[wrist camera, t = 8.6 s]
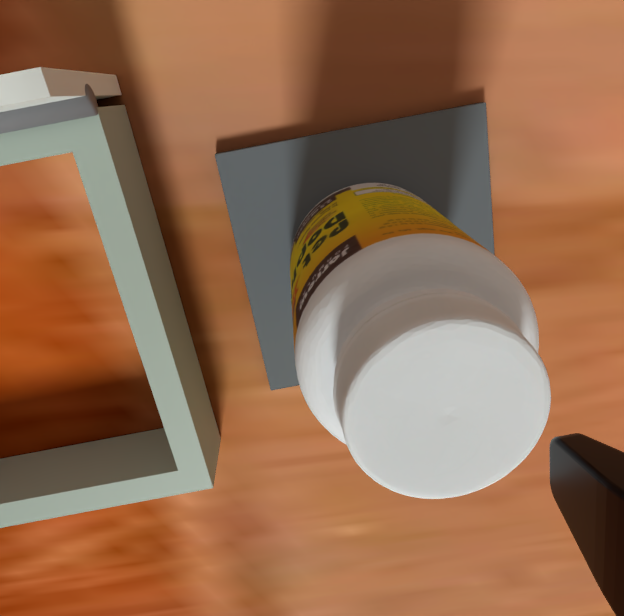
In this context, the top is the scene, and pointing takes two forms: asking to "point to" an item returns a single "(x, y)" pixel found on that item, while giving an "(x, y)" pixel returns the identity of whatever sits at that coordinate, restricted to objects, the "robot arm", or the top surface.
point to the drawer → (136, 300)
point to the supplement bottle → (414, 344)
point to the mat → (337, 175)
